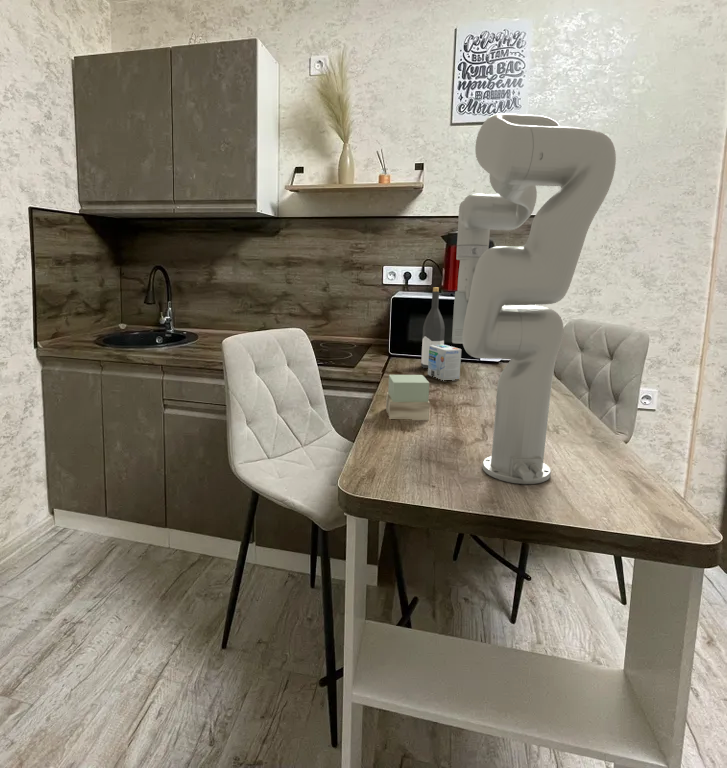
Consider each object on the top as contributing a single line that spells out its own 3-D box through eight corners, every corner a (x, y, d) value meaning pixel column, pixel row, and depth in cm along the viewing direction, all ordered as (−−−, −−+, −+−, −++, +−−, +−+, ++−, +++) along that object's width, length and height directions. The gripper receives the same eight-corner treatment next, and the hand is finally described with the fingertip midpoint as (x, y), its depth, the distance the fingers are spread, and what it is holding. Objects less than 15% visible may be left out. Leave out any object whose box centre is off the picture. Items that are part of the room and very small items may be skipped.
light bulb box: (427, 375, 184) (428, 345, 181) (443, 373, 187) (444, 344, 184) (443, 381, 174) (445, 349, 172) (460, 380, 177) (462, 348, 175)
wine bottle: (446, 368, 196) (451, 287, 189) (430, 370, 191) (434, 288, 185) (433, 364, 202) (437, 286, 195) (416, 366, 198) (420, 286, 191)
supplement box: (482, 345, 125) (486, 292, 123) (451, 343, 127) (454, 291, 124) (481, 341, 132) (484, 291, 130) (452, 340, 134) (454, 290, 131)
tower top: (428, 401, 131) (429, 382, 129) (392, 401, 130) (393, 382, 129) (421, 393, 139) (422, 374, 138) (388, 393, 139) (388, 374, 137)
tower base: (428, 421, 131) (429, 402, 130) (389, 421, 131) (390, 402, 130) (422, 410, 141) (423, 392, 140) (385, 410, 140) (386, 392, 139)
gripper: (498, 252, 117) (493, 330, 120) (477, 255, 134) (473, 323, 137) (465, 252, 116) (461, 329, 120) (449, 254, 133) (445, 322, 137)
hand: (467, 325), depth 129 cm, fingers closed on supplement box, 8 cm apart
